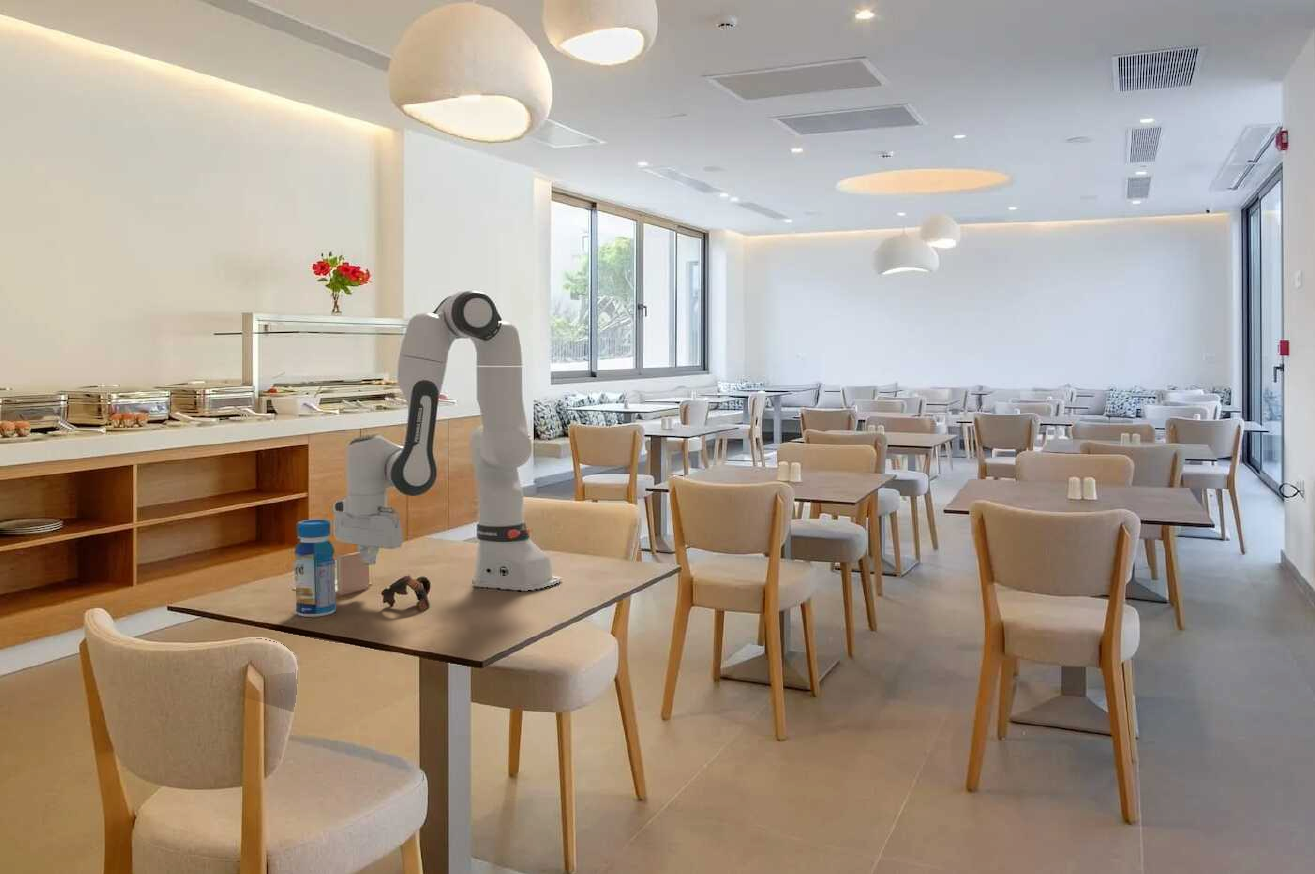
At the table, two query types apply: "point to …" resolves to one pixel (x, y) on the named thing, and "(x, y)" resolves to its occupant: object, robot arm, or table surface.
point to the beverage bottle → (314, 569)
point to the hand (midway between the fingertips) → (368, 563)
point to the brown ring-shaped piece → (400, 588)
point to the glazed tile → (351, 573)
